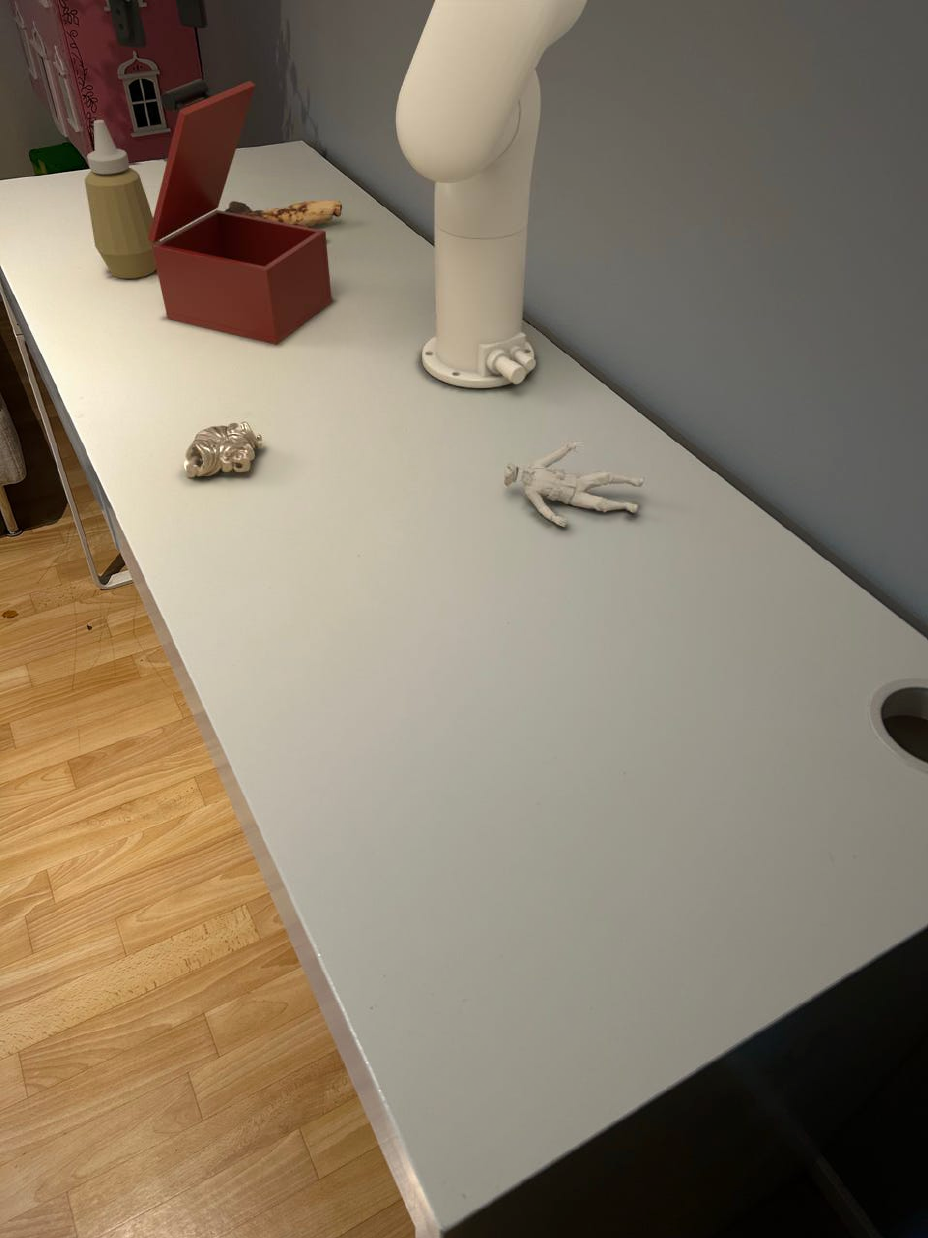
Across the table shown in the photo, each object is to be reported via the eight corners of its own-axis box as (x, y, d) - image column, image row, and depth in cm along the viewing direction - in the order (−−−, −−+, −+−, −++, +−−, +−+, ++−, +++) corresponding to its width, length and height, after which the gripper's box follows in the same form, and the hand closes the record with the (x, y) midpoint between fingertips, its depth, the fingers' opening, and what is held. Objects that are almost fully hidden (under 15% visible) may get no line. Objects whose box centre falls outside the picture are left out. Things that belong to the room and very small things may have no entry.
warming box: (332, 301, 117) (325, 230, 111) (276, 344, 108) (266, 270, 102) (228, 278, 121) (216, 209, 115) (167, 318, 113) (151, 245, 107)
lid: (255, 84, 103) (219, 55, 102) (185, 114, 94) (145, 82, 94) (218, 207, 115) (185, 181, 115) (153, 243, 107) (117, 215, 106)
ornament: (214, 498, 86) (207, 464, 84) (173, 468, 90) (165, 435, 87) (283, 463, 91) (279, 430, 88) (241, 436, 94) (235, 404, 92)
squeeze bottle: (174, 259, 126) (143, 112, 113) (153, 285, 120) (119, 132, 107) (115, 256, 126) (79, 109, 114) (92, 281, 120) (51, 130, 108)
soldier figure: (631, 543, 84) (506, 509, 81) (611, 546, 88) (491, 514, 86) (650, 459, 84) (526, 422, 81) (628, 467, 89) (510, 432, 86)
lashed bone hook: (231, 260, 127) (357, 237, 132) (225, 225, 123) (354, 204, 128) (215, 233, 132) (336, 212, 137) (209, 199, 129) (333, 179, 134)
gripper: (89, -180, 76) (137, 59, 88) (216, -190, 88) (244, 23, 99) (19, -184, 79) (75, 50, 90) (152, -193, 90) (187, 15, 102)
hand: (164, 35), depth 95 cm, fingers open, 9 cm apart
